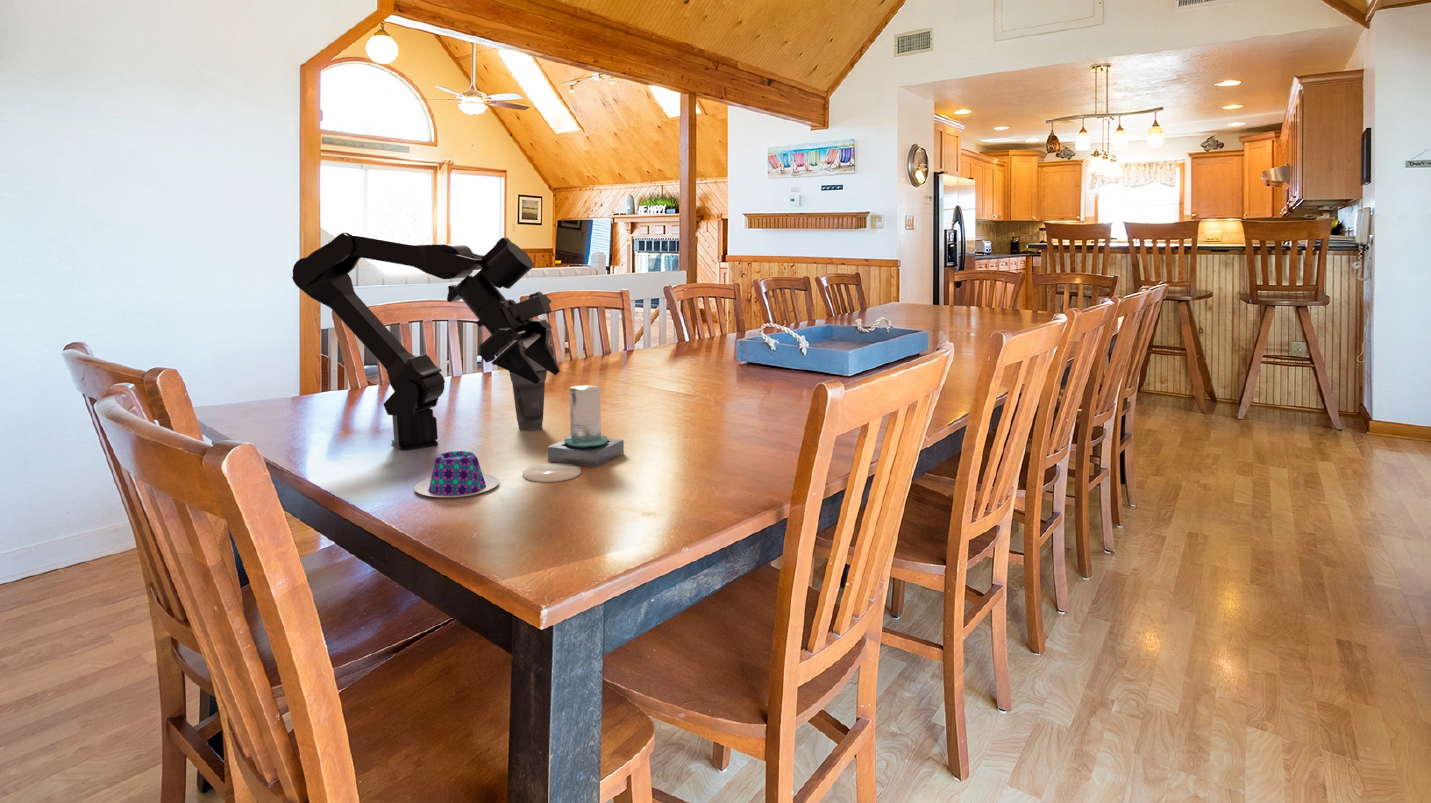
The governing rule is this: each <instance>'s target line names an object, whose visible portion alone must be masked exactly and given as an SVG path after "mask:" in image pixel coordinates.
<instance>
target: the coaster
mask: <svg viewBox="0 0 1431 803" xmlns="http://www.w3.org/2000/svg"><path fill="white" fill-rule="evenodd" d="M581 470H582V469H581V467H580V466H579V465H572V464H565V463H557V462H551V463H549V462H548V463H543V464H542V463H541V464H536V465H533V466H529V467H527V468H525V469H524V470H522V477H523V478H524V479H526V480H527V481H531V482H538V483H554V482H564V481H569V480H573V479H575V478H578V476H580V475H581V473H582V471H581Z"/></svg>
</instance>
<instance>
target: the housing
mask: <svg viewBox="0 0 1431 803" xmlns="http://www.w3.org/2000/svg"><path fill="white" fill-rule="evenodd" d="M607 438H608V442H607V443H606V444H605V445H602V446H599V447H597V448H595V449H584V448H576V447H570V446H567V445H565V442H564V440H560V441H558V442H556V443H553V444H551V445H549V446H547V462H551V463H564V464H571V465H575V466H579V467H581V466H582V467H589V468H598V467H599V466H602V465H605V464H606V463H608V462H610V461H612V460H614V459H616V458H618V457H621V456H622V455H624V454H625V453H624V452H625V451H624V450H625V449H624V448H625V446H624V439H619V438H609V437H607Z"/></svg>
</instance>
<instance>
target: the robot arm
mask: <svg viewBox="0 0 1431 803" xmlns="http://www.w3.org/2000/svg"><path fill="white" fill-rule="evenodd" d="M361 258H362V259H368V260H372V261H373V260H375V261H379V262H385V263H392V264H397V265H402V266H408V267H413V268H414V269H415V268H416V269H418V270H419V271H422V272H424V273H425V274H427V275H431V276H433V277H436V278H438V279H441V280H453V279H454V280H455V279H462V280H461V281H460V282H459V283H458V284H457V285H456V284H452V285H448V287H447V290H448V292H447V296H446V297H447V298H446V301H447V302H448V303H452V302H459V301H460V300H462V301H463V302H464V304H465V305H466V306H467V307H468V308H469V310H470V311H471V313H473V315H474V316H475V317H476V318H477V319H478V320H477V321H476V322H475V323H476V325H477V327H478V328H485V329H486V330H487V332H488V333H489V334H490V336H489V337H487V339H486V340H484V341H483V342H482V343H481V344H480V345H479V346H478V354H479V356H480V357H481V358H482V360H484V362H485V363H486V364H487V363H489V362H491V364H492V365H493V366H497V367H500V368H502V369H504V370H507V371H508V372H509V371H510V372H513V373H515V374H517V375H519V376H521V377H523V378H525V379H527V380H529V381H531V382H533V383H535V384H537V383H539V382H540V381H541V379H540V377H539V375H538V374H537V372H536V370H535V369H534V367H533V366H532V364H531V363H530V361H529V359H528V358H527V357H529V358H530V359H532V360H533V361H535V362H536V363H538V364H539V365H540V366H542V367H543V368H545V369H546V370H547V371H548V372H550V373H551V374H553V375H554V376H555V375H558V374H559V373H560V368H559V366H558V363H557V361H556V359H555V356H554V355H553V350H552V349H551V347H550V343H549V342H550V335H552V331H551V330H552V329H553V327H552V326H551V325H550V323H549V322H548V321H547V320H546V319H544V318H542V319H541V318H536V319H533V318H535V317H539V316H542V315H545V314H546V315H547V314H548V315H549V313H550V314H551V313H552V312H553V311H552V307H551V303H552V300H551V299H550V298H549V297H548V295H547V294H543V293H542V292H541V291H536V292H535V293H530V294H529V295H528V299H525V300H522V301H519V302H516V301H515V300H514V299H506V297H505V296H504V295H503V294H502V293H501V291H500V290H499V289H501V288H504V289H507V290H508V289H511V288H512V287H513V286H514V285H515V284H516V283H517V282H519V280H521V279H522V278H523V277H524V276H525V275H526V274H528V273H529V271H531V270H532V269H533V268H534V266H535V265H534V263H533V260H532V259H531V257H530V256H529V255H528V253H527V251H525V250H523V249H521V248H520V247H519V246H518V245H517V244H516V243H514V242H512V241H511V239H510V238H509V237H501V238H500V239H498V241H497V242H496V243H495V245H494V246H493V247H492V248H491V249H490V250H488V252H487V253H486V254H484V255H482V254H481V255H480V254H477V253H474V252H473V251H472V249H471V248H470V247H469V246H467V245H465V244H460V243H459V244H454V243H453V244H452V243H451V244H449V243H448V244H447V243H446V244H418V243H413V242H412V243H411V242H406V241H401V240H393V239H388V238H381V237H376V236H370V235H364V234H363V233H360V232H342V233H341V232H340V233H339V234H338V235H337V236H336V237H335V238H333V239H332V240H331V241H329V242H328V243H327V244H325V245H323V246H321V247H320V248H317V249H316V250H315V251H313V252H311V253H310V254H309V255H307V257H303V258H300V259H298V260H297V261H296V262H295V264H294V265H293V268H292V277H291V279H292V281H293V283H294V285H295V286H296V287H297V288H298V289H300V290H301V291H302V292H303V293H305V294H306V296H308V297H310V298H311V299H313V300H314V301H316V302H318V303H320V304H322V305H324V306H326V307H328V308H330V309H331V310H332V311H333V312H334V313H335V314H336V316H337V317H338V318H339V319H340V320H341V321H342V322H343V323H344V324H345V326H347V328H348V329H349V331H351V333H353V334H354V335H355V336H356V338H357V339H358V340H359V341H360V342H361V343H362V344H363V345H364V347H365V348H366V349H367V350H368V351H369V353H371V354H372V355H373V357H375V359H376V360H377V361H378V362H379V363H380V364H381V365H382V366H383V368H384V369H385V370H386V374H387V378H388V381H389V385H390V386H391V388H392V390H393V391H394V392H393V393H392V394H391V395H390V396H389V397H388V398H387V399H386V401H385V402H384V403H383V408H384V410H385V411H386V414H387V416H392V427H393V439H392V440H391V444H393V446H395V447H397V449H399V450H400V451H403V450H411V449H416V448H424V447H431V446H438V445H439V441H437V440H438V439H439V438H438V425H437V424H438V422H437V417H436V416H435V415H434V410H433V409H432V408H434V407H436V406H437V404H438V400H439V398H440V397H441V396H442V394H444V391H445V383H446V381H445V378H444V376H443V375H442V373H441V372H443V369H441V368H440V367H438V366H437V365H436V364H435V363H434V362H433V361H432V359H431V357H430V356H429V355H427V353H425V354H422V355H421V354H420V355H417V356H416V355H414V354H412V353H410V352H409V351H408V350H407V349H406V348H405V346H403V344H401V342H400V341H399V340H398V339H397V337H396V336H394V334H392V332H391V331H390V330H389V329H388V328H387V326H386V325H384V324H383V322H382V321H381V320H380V319H379V317H377V315H376V314H375V313H374V312H373V311H371V309H370V308H369V307H368V305H366V304H365V303H364V301H363V300H362V299H361V298H360V297H359V296H358V295H357V294H356V292H355V289H354V286H353V285H354V284H353V280H352V278H351V276H350V273H351V272H352V271H353V270H354V269H355V268H356V266H357V264H358V262H359V261H360V259H361ZM474 271H478V272H477V273H476V274H475V275H473V276H472V275H471V274H473V272H474ZM532 319H533V320H532ZM510 372H509V373H510Z"/></svg>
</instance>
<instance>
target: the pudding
mask: <svg viewBox="0 0 1431 803" xmlns="http://www.w3.org/2000/svg"><path fill="white" fill-rule="evenodd" d="M499 484H500V480H499V478H498V477H496V476H494V475H492V474H489V473H488V474H487V473H483V472H482V469H481V465H480V462H479V459H478V457H477V455H476V454H475V453H474V452H473V451H466V450H457V451H453V450H452V451H448V452H444V453H440V454H438V455H437V456H436V458H435V459H434V461H433V466H432V473H431V477H429V478H425V479H424V480H422V481H420V482H418V483H416V485H414V491H415V492H416V493H418V494H420V495H423V496H427V497H433V498H460V497H467V496H474V495H477V494H478V495H479V494H481V493H485V492H487V491H491V490H492V489H495V488H496V487H497V486H498V485H499ZM433 493H434V494H433Z"/></svg>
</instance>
